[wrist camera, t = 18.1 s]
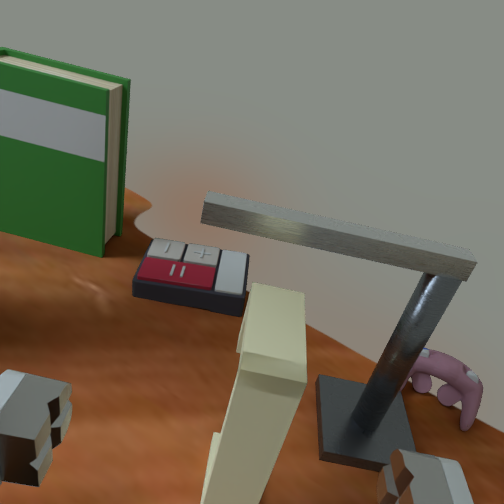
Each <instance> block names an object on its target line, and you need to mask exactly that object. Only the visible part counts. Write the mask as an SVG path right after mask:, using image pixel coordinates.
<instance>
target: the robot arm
mask: <svg viewBox="0 0 504 504" xmlns="http://www.w3.org/2000/svg"><path fill="white" fill-rule="evenodd" d="M71 393H72V386H71V383H68V382H63V381H59V380H55V379H50V378H46V377H41V376H37V375H32V374H28V373H24V372H19V371H14V370H9V369H7V370H6V371H5V372H3V373H2V374H1V375H0V484H1V483H2V482H1V481H4V482H10V483H16V484H22V485H28V486H35V487H39V486H40V484H41V482H42V480H43V478H44V476H45V474H46V472H47V470H48V469H49V467H50V465H51V463H52V461H53V459H52V449H53V448H55V447H56V446H58V445H59V444H61V442H62V440H63V438H64V436H65V434H66V432H67V429H68V426H69V423H70V420H71V415H72V404H71V402H70V401H69V400H68V399H69V397H70V395H71ZM390 461H391V464H388V465H386V466H384V467H383V468H382V470H381V472H380V473H379V476H378V481H377V500H378V504H474V503H473V500H472V497H471V494H470V491H469V488H468V485H467V483H466V480H465V477H464V474H463V471H462V468H461V466H460V464H459V463H458V462H457V461H455V460H452V459H446V458H441V457H435V456H434V455H429V454H423V453H418V452H413V451H407V450H402V449H396V450H394V451H393V452H392V454H391V455H390Z"/></svg>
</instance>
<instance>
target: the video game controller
mask: <svg viewBox="0 0 504 504" xmlns="http://www.w3.org/2000/svg"><path fill="white" fill-rule="evenodd" d="M430 375H432V376H435V377H437V378H439V379H441V380H443V381H445V382H447V383H448V384H445V385H442V386H441V387H440V388H439V389H438V392H437V397H438V400H439V401H440V402H441V403H442V404H443V405H445V406H451V405H453V404H455V403H456V402H458V401H461V402H462V411H461V417H460V429H461V430H462V431H467V430H468V429H469V428H470V427H471V426H472V424H473V422H474V420H475V417H476V415H477V412H478V409H479V406H480V402H481V398H482V393H483V385H482V382H481V381H480V379H479V378H478V376H477V375H476V374H475V373H474V372H473V371H472V370H470V368H468V367H467V366H466V365H465V364H463V363H462V362H460V361H459V360H457V359H455V358H453V357H452V356H449V355H447V354H445V353H442V352H439V351H435V350H430V349H427V348H423V350H422V352H421V353H420V355H419V357H418V359H417V360H416V362H415V364H414V366H413V367H412V369H411V371H410V373H409V374H408V376H407V378H406V380H405V381H404V383H403V385H402V387H401V388H400V390H399V391H402V389H403V388H404V386H405V385H406V383H407V381H408V379H409V378H410V377H411V378H412V385H413V388H414V389H415V390H416V391H417V392H420V393H426V392H428V391H430V389H431V386H432V382H431V378H430Z"/></svg>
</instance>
